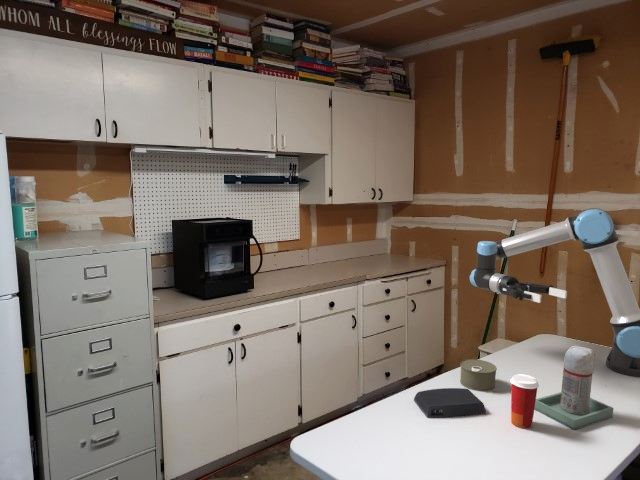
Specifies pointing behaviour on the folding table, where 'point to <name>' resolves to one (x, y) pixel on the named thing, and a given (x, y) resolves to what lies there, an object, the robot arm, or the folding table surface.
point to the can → (478, 375)
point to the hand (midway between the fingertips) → (553, 296)
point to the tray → (555, 412)
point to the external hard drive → (449, 403)
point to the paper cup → (523, 400)
